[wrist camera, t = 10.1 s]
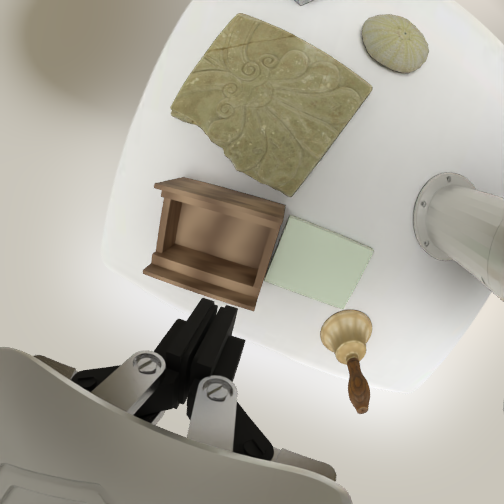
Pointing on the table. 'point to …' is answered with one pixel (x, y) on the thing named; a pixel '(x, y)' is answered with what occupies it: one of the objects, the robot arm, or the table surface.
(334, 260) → the cover plate
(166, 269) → the box
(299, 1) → the medicine box
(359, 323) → the hand bell
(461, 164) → the table surface
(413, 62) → the sea urchin shell
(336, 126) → the decorative tile
